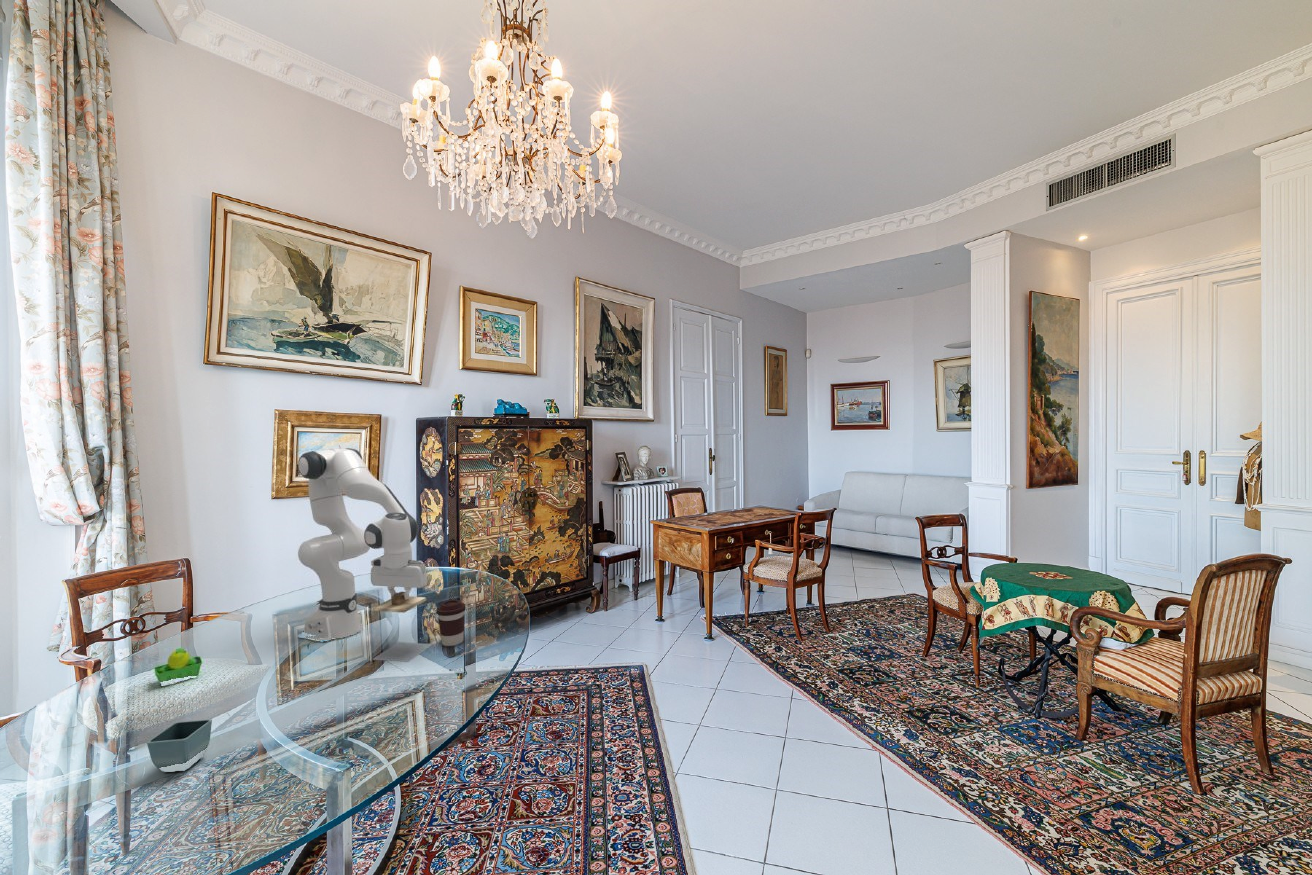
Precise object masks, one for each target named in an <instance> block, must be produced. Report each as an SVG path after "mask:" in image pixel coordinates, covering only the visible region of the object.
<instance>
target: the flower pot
mask: <svg viewBox="0 0 1312 875" xmlns="http://www.w3.org/2000/svg"><path fill="white" fill-rule="evenodd" d="M212 722H213V719H200V720H199V719H198V720H188V721H186V720H185V721H177V722H176V721H175V722H174V723H172V724H171V725H169V726H168V727H166V728H165V729H164V730H162V731H161V732H159V733H158V734H156V735H155V736H153V737H152V738H151V739H149V740H148V741H147V742H146V744H147V748H148V752H149V756H150V759H151V762H152V763H153V765H154V766H155V768H156V769H158V768H161V767H167V766H171V765H175V764H183V763H186V762H187V761H189V760H190V759H192V758H193V757H194V756H196V755H197V754H198V753H200V752H201V751H203V750H205V749H206V748H208V747H209V745H210V740H211V735H212ZM206 750H207V749H206Z"/></svg>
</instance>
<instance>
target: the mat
mask: <svg viewBox="0 0 1312 875" xmlns="http://www.w3.org/2000/svg"><path fill="white" fill-rule="evenodd" d="M433 645H434V644H433V643H421V642H420V643H419V642H405V641H403V642H401V641H398V642H396V644H394V645H392V646H391V647H389V648H388V649H386V650H385V651H383V652H381V653H379V654H378V655H376V656H374V658H372V659H371V660H372V661H373V660H375V661H376V660H377V661H387V662H388V661H389V662H404V663H405V662H406V663H409V662H411V660H413V659H414V658H416V657H417V656H419V655H420V654H422V653H423V652H424V651H426V650H428V648H430V647H431V646H433Z"/></svg>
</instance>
